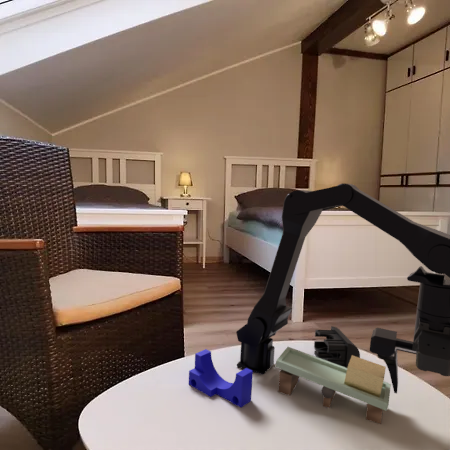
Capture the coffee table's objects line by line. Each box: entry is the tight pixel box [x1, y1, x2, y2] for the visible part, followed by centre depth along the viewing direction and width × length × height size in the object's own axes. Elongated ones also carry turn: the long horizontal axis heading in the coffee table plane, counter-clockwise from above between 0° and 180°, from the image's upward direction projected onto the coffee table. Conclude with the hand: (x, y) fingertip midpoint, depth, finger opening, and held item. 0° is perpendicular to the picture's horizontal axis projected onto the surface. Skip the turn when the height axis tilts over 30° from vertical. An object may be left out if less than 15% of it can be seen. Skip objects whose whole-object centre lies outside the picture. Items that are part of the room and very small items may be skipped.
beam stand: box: [277, 369, 384, 425], centre depth 69 cm, size 18×7×4 cm, turn 63°
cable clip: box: [188, 348, 254, 408], centre depth 69 cm, size 12×4×6 cm, turn 49°
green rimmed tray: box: [274, 346, 392, 412], centre depth 69 cm, size 20×7×2 cm, turn 63°
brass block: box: [344, 355, 387, 398], centre depth 66 cm, size 6×5×4 cm
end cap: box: [313, 325, 361, 368], centre depth 84 cm, size 10×7×7 cm
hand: (425, 400), depth 62 cm, fingers open, 9 cm apart
